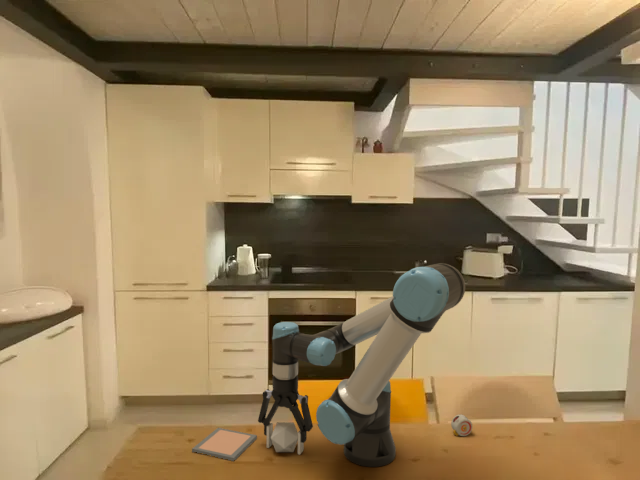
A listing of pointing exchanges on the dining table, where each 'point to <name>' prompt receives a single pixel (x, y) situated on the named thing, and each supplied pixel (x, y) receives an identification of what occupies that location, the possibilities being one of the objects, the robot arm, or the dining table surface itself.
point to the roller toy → (461, 425)
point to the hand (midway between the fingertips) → (284, 448)
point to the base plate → (225, 444)
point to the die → (284, 437)
